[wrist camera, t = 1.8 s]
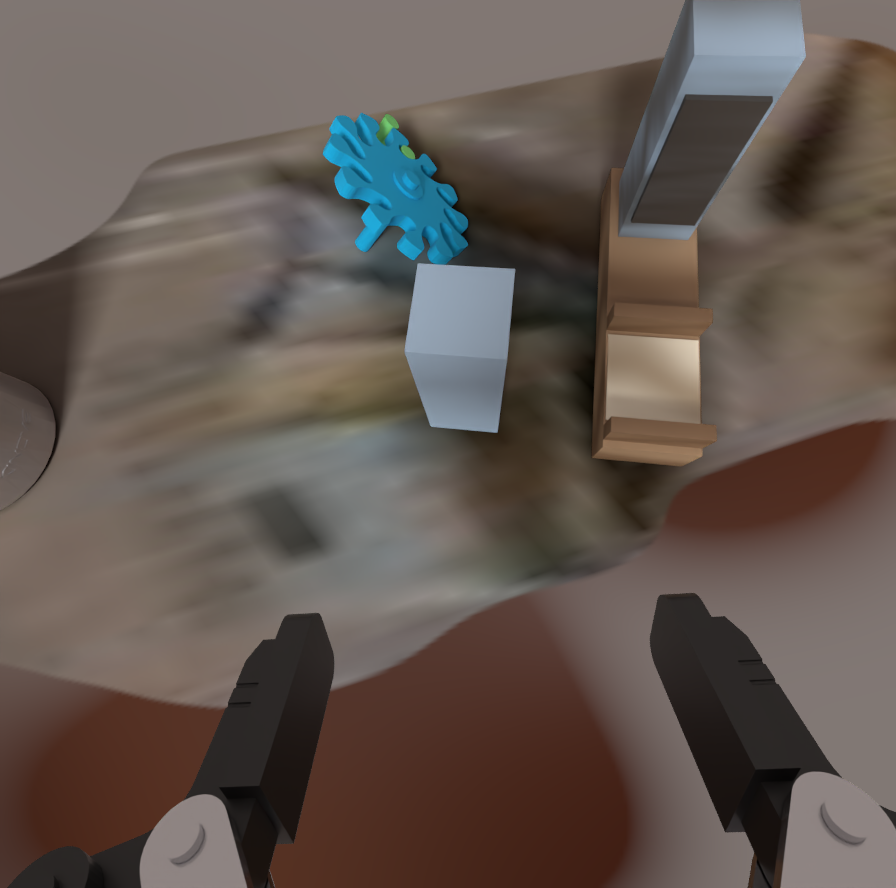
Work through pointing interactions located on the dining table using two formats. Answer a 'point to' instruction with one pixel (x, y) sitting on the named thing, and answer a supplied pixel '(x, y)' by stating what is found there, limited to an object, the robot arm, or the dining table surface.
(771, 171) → the dining table surface
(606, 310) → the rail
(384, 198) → the gear
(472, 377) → the light grey block
